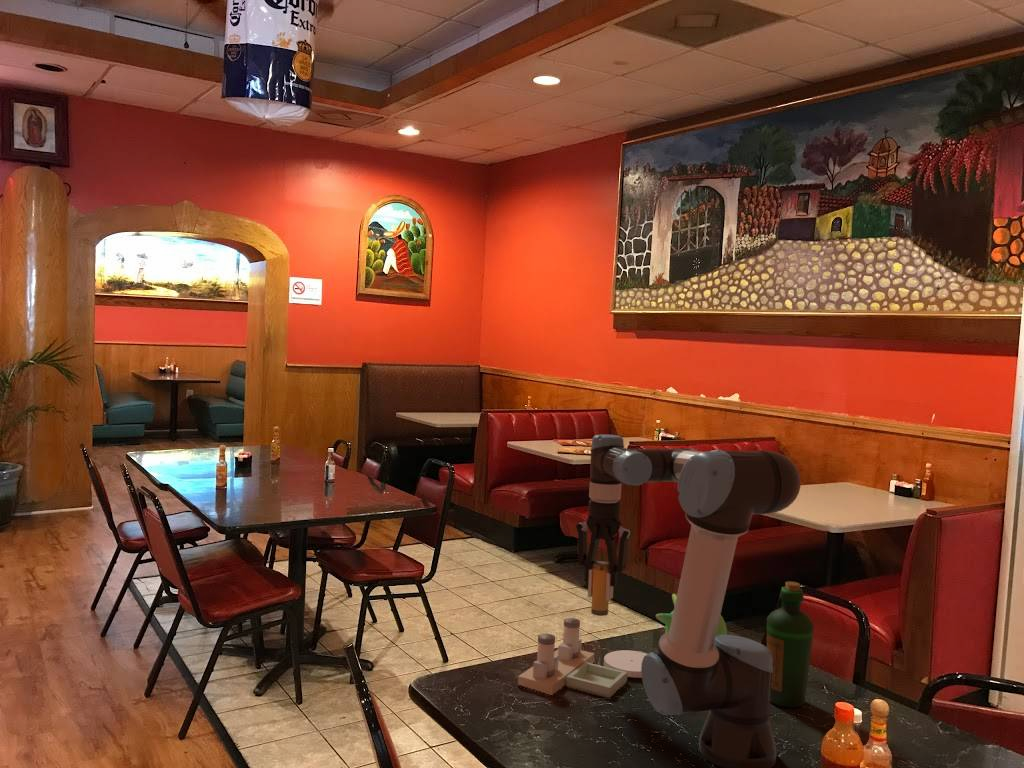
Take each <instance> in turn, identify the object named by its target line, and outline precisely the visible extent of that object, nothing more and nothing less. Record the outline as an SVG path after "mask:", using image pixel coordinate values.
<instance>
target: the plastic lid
mask: <svg viewBox="0 0 1024 768" xmlns="http://www.w3.org/2000/svg"><path fill="white" fill-rule="evenodd" d="M647 654H648V653H646V652H644V651H637V650H628V649H624V650H623V649H622V650H620V649H619V650H613V651H611V652H608V653H606V654H605V655H604V658H603V666H604V667H608V668H612V669H616V670H620V671H624V672H627V678H636V679H637V678H639V679H642V673H641V665H642V660H643V658H644V656H645V655H647Z"/></svg>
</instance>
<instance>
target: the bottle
mask: <svg viewBox="0 0 1024 768" xmlns="http://www.w3.org/2000/svg"><path fill="white" fill-rule="evenodd" d="M784 583H785V586H781V589H780V593H779V599H781V607H780V608H777V609H775V610H773V611H771V612H770V613H769V615H768V616H767V617H766V647H767V648H768V649H769V650H770V652H771V654H772V668H773V673H772V682H771V696H770V703H772V704H774V705H776V706H778V707H781V708H787V709H793V708H795V709H796V708H800V707H801V706H803V705H805V703H806V694H807V685H808V679H809V672H810V671H809V670H810V669H809V668H810V663H811V653H812V646H813V644H812V643H813V637H814V630H815V626H814V623H813V621H812V619H811V617H810V616H809V615H808V614H806V613H805V612H804V611H802V610H801V605H802V603H803V602H804V601H805V600H804V593H803V589H802V588H800V585H801V584H800V583H799V582H796V581H785V582H784Z"/></svg>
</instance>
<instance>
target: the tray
mask: <svg viewBox="0 0 1024 768" xmlns="http://www.w3.org/2000/svg"><path fill="white" fill-rule="evenodd" d="M626 682H628V677H627V672H624V671H620V670H616V669H612V668H608V667H605V666H604V665H600V664H596V663H594V664H592V663H588V662H585V663H584V664H582V665H581V666H580V667H578V668H577V669H576V670H575V671H573V672H572V673H571V674H569V675H568V676H567V678H566V685H565V687H566V686H567V687H566V688H569V687H570V688H569V689H572V688H573V690H576V689H577V690H576V691H580V692H584V693H588V694H591V695H594V696H595V695H596V696H599V697H602V698H606V699H610V698H611V697H612V696H613V695H614V694H616V691H617V690H618V689H619V690H620V689H621V688H623V686H624V685H626V684H627V683H626ZM620 687H621V688H620ZM619 690H618V691H619ZM618 691H617V692H618Z"/></svg>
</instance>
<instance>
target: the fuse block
mask: <svg viewBox="0 0 1024 768" xmlns="http://www.w3.org/2000/svg"><path fill="white" fill-rule="evenodd" d="M580 626H581V620H580V619H578V618H575V617H566V618H564V619H563V634H562V636H563V638H562V643H560V644H559V645H558V646H557V648H558V649H556V650H555V648H556V647H555V646H556V645H555V644H556V643H555V642H556V636H555V635H553V634H552V633H540V634H538V635H537V652H536V654H537V658H536V660H534V661H533V663H532V664H533V665H532V666H531V667H530V668H528V669H527V670H525V671H523V672H522V673H521V674H519V675H518V678H517V685H518V684H519V685H522V686H525V687H528V688H531V689H535V690H538V691H541V692H544V693H547V694H550V695H552V696H553V694H554V693H555V692H556V691H558V690H559V689H560V690H561V689H563V688H564V687H566V678H567V676H568V675H569V674H571V673H572V672H573V671H575V670H576V669H577V668H578V667H580V666H581V665H582V664H584V663H585V662H588V663H592V664H593V663H594V664H595V656H596V655H595V652H591V651H590V652H589V651H585V650H582V644H583V639H581V638H580ZM563 686H564V687H563ZM562 687H563V688H562ZM560 690H559V691H560ZM559 691H558V692H559ZM556 693H557V692H556ZM556 693H555V694H556ZM547 694H546V695H547ZM555 694H554V695H555ZM550 695H549V696H550Z"/></svg>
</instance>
